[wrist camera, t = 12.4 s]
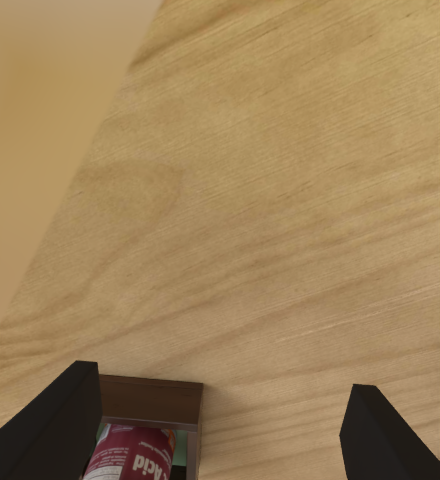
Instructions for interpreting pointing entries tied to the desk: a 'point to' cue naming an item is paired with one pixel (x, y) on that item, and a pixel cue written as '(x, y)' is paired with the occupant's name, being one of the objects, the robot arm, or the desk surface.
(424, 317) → the desk surface
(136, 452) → the pill bottle
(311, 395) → the desk surface
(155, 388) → the dark brown square box
